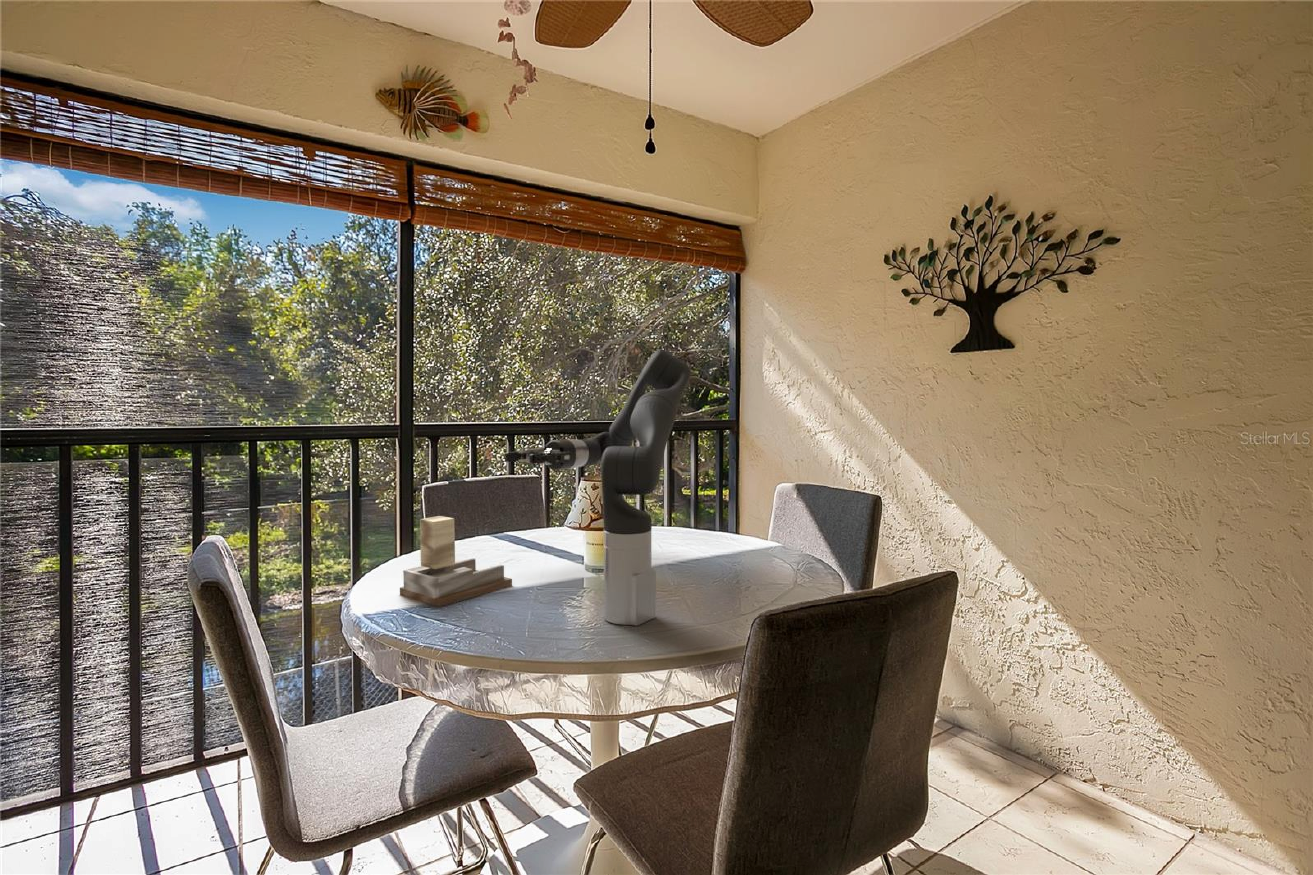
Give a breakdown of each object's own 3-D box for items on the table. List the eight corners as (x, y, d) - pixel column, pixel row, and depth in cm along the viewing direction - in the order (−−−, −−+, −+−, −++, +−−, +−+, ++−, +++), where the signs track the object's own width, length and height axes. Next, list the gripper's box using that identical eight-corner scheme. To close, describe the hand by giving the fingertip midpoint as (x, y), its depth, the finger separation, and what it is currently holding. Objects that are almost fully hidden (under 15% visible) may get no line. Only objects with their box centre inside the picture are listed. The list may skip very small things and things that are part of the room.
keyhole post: (462, 587, 143) (461, 518, 142) (434, 595, 137) (432, 523, 136) (442, 581, 147) (441, 514, 146) (414, 589, 142) (412, 519, 141)
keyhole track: (512, 585, 150) (511, 561, 149) (439, 607, 134) (438, 580, 134) (472, 575, 158) (472, 552, 158) (399, 594, 143) (399, 569, 142)
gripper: (546, 438, 172) (497, 441, 159) (587, 440, 164) (539, 443, 151) (546, 467, 173) (497, 472, 160) (587, 470, 164) (539, 476, 151)
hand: (518, 458), depth 155 cm, fingers open, 8 cm apart
